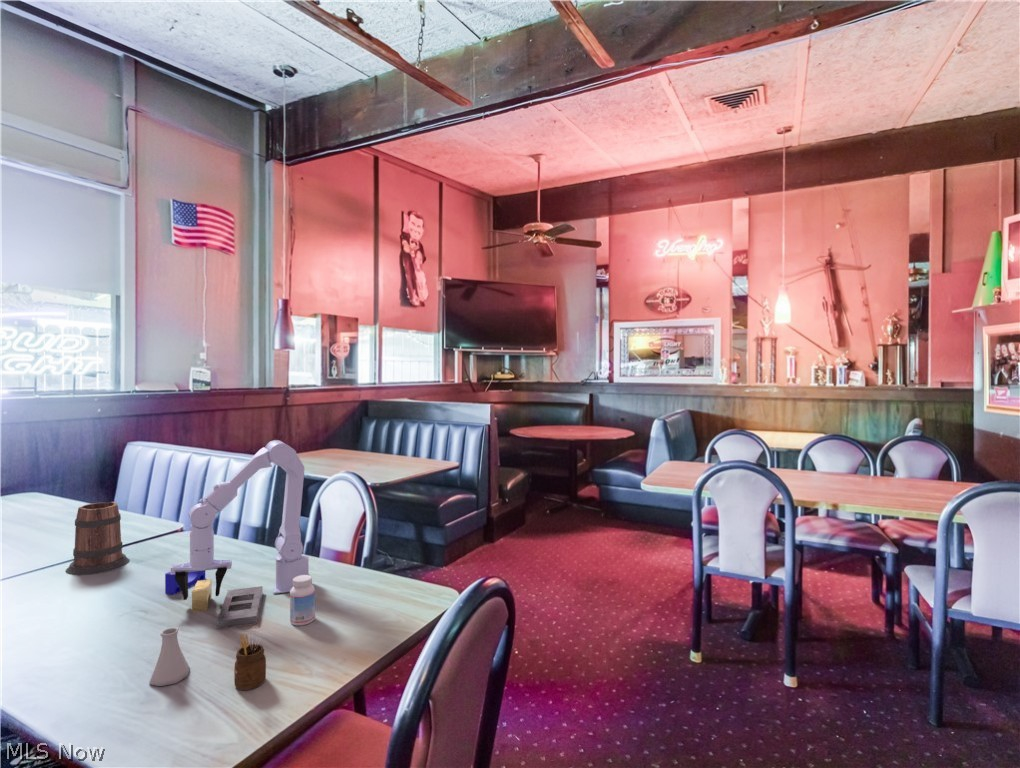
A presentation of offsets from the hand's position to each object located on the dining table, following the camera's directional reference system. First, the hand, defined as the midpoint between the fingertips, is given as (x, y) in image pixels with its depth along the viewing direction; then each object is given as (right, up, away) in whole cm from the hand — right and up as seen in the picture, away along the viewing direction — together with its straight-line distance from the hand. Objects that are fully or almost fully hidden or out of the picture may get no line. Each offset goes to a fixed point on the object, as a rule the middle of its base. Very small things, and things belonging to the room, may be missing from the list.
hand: (201, 596), depth 148 cm
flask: (+13, -4, -35) cm, 37 cm away
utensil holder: (+31, -4, -36) cm, 48 cm away
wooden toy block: (0, -2, 0) cm, 2 cm away
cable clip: (-13, -2, +13) cm, 19 cm away
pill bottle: (+31, -3, -8) cm, 32 cm away
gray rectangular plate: (+12, -3, -3) cm, 13 cm away
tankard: (-53, -1, +30) cm, 61 cm away
